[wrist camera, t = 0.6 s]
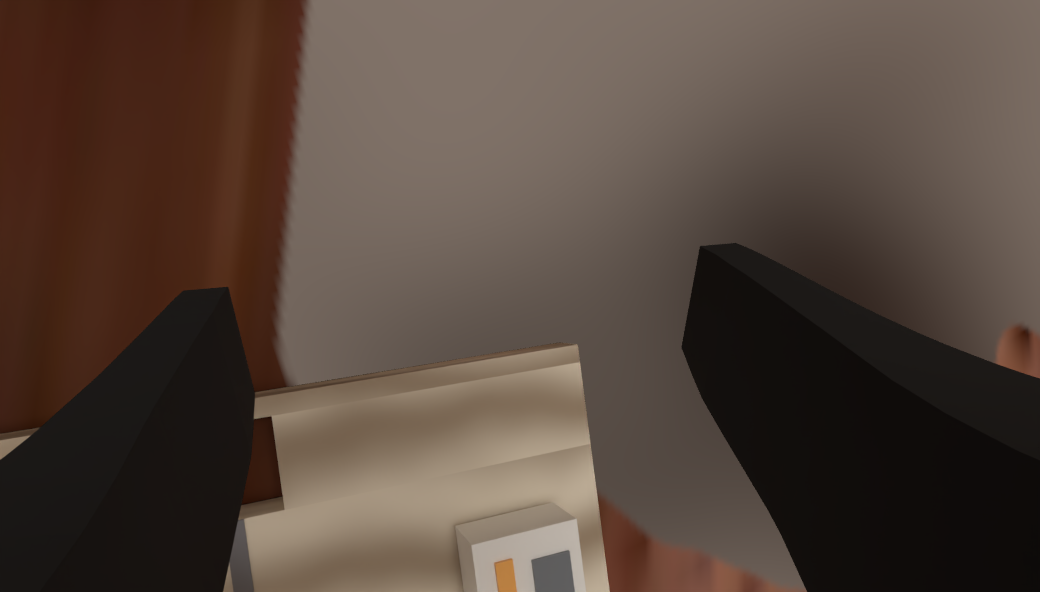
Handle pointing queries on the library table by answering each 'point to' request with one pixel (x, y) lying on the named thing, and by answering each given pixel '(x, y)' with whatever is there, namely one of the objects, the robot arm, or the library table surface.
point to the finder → (522, 552)
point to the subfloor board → (413, 472)
